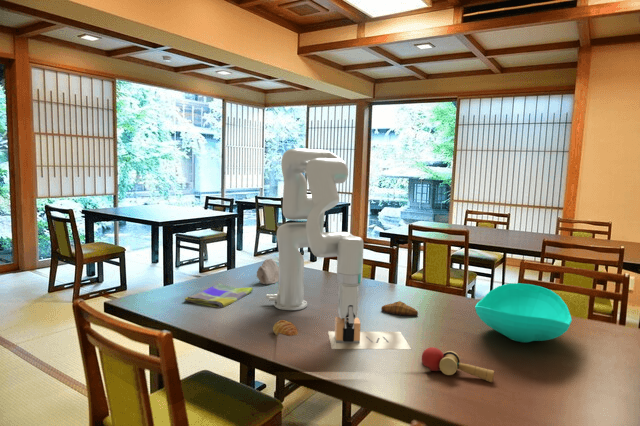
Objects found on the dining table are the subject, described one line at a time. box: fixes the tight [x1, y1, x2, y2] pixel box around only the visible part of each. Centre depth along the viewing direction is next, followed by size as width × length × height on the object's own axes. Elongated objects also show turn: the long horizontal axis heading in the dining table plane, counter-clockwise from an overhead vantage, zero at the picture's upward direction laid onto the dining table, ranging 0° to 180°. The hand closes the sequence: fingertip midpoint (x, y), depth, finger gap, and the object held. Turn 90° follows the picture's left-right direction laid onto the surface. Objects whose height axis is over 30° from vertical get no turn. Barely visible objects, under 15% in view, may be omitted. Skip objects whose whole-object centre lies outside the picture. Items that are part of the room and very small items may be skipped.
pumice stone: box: [256, 258, 279, 285], centre depth 197 cm, size 15×8×10 cm, turn 146°
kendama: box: [421, 346, 495, 383], centre depth 113 cm, size 8×6×18 cm
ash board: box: [327, 330, 412, 350], centre depth 130 cm, size 23×13×2 cm, turn 93°
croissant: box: [381, 300, 419, 317], centre depth 159 cm, size 14×7×5 cm, turn 70°
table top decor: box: [474, 282, 573, 343], centre depth 138 cm, size 40×28×13 cm
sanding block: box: [334, 316, 362, 343], centre depth 129 cm, size 7×5×6 cm
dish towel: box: [184, 283, 253, 309], centre depth 172 cm, size 18×24×3 cm
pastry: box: [272, 319, 299, 337], centre depth 135 cm, size 9×7×4 cm
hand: (347, 336), depth 129 cm, fingers closed on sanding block, 5 cm apart
